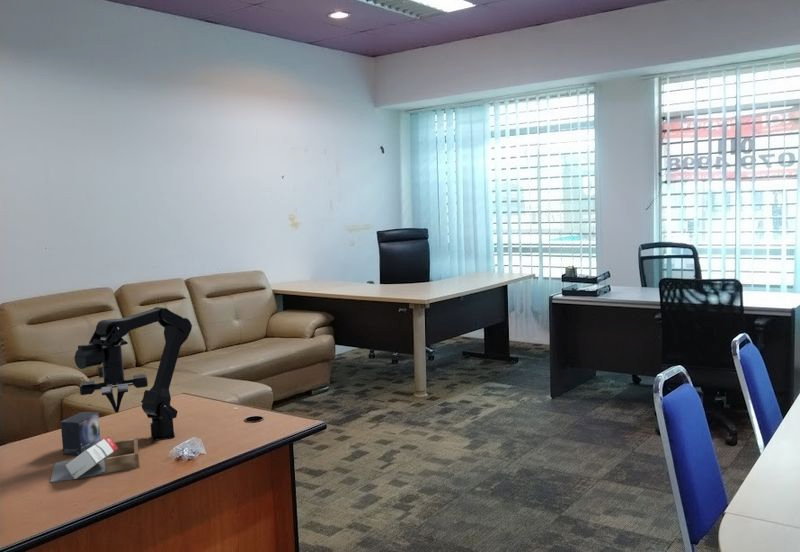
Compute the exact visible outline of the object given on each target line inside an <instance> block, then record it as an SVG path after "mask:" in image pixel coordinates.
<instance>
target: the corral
mask: <svg viewBox="0 0 800 552" xmlns="http://www.w3.org/2000/svg"><path fill="white" fill-rule="evenodd" d="M114 443H115V444H116V445H117V447H118V449H117V450H116V451H115V452H113V453H112V454H110V455H109V456H108V457H106V458H104V462H105V473H106V474H108V473H114V472H121V471H125V470H132V469H137V468H140V456H139V443H138V437H136V438H130V439H129V438H128V439H124V440H116V441H114Z"/></svg>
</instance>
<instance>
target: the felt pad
mask: <svg viewBox="0 0 800 552" xmlns="http://www.w3.org/2000/svg"><path fill="white" fill-rule="evenodd" d="M72 460H73V459H70V460H63V461H58V462H54V466H53V469H52V472H51V478H50V481H49V483H50V484H51V483H52V484H54V483H58V482H64V481H70V480H76V479H82V478H87V477H94V476H99V475H105V474H107V473H105V462H104V460H102V461H101V462H100V463H98V464H97V465H95V466H94V467H92V468H91V469H90V470H88V471H87V472H85V473H84V474H82V475H81V476H79V477H78V478H76V479H74V478H73V476H72V475H71V474H70V472H69V471H68V470H67V468H66V466H65V465H66V464H68V463H69V462H70V461H72Z"/></svg>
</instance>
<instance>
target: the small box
mask: <svg viewBox="0 0 800 552" xmlns="http://www.w3.org/2000/svg"><path fill="white" fill-rule="evenodd" d="M60 429H61V441H62V444H61V445H62V455H73V456H79V455H80V454H81V453H83V452H84V451H85V450H87V449H89V448H90V447H92V446H93V445H95V444H97V443H98V442H100V441H101V429H100V415H99V412H96V411H95V412H93V411H80V412H79V413H76V414H74V415H71V416H70V417H67V418H65V419H63V420H61V421H60Z"/></svg>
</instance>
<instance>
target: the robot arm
mask: <svg viewBox="0 0 800 552" xmlns="http://www.w3.org/2000/svg"><path fill="white" fill-rule="evenodd" d="M153 323H158V324H159V325H160V326H161V327H163V328H164V329H163V337H164V341H165V342H164V343H165V344H164V347H163V351H162V354H161V357H160V362H159V365H158V369H157V372H156V376H155V380H154V382H153V386H151V388H150V389H149V390H148V389H145V390H144V392H143V396H142V398H141V399H142V400H141V401H140V403H141V409H142V411H143V412H144V414H146V416H147V418H148V419H151V422H150V423H149V424H150V436H151V438H153V439H152V440H153V441H160V440H165V439H166V440H167V439H172V438H173V439H174V438H175V436H176V434H175V430H174V419H176V418H177V416H178V410H177V409H175V407H173V406H172V405H171V403H172V402H171V400H172V399H171V393H170V387H171V383H172V380H173V377H174V372H175V368H176V364H177V361H178V359H179V354H180V351H181V348H182V346H183V344H184V343H185V342H186V341H187V340H188V338H189V336H190V335H191V331H192V328H193V325H192V322H191V321H190V319H189V318H186V317H182V316H181V315H178V314H176V313H175V312H173V311H171V310H170V309H168V308H167V307H162V306H155V307H154V308H152V309H148V310H145V311H142V312H139V313H136V314H133V315H132V314H131V315H129V316H127V317H126V316H125V317H120V318H108V319H101V320H99V321H98V322H97V324H96V325H95V326H96V327H95V330H94V332H93V334H92V336H91V337H90V340H89V342H88V344H79V345H77V350H76V351H75V353H74V354H75V355H74V357H73V358H74V363H75V365H76V366H77V368H78V369H80V370H83V369H89V368H92V367H96V366H101V367H97V369H98V378H99V379H103V382H98V383H97V382H96V381H95V380H89V381H81V383H80V386H79V392H80V394H79V395H80V396H87V395H93V393H94V392H95V391H97V390H98V391H99V390H100V391H101V396H106V398H107V400H108V401H109V403H110V404H111V406H112V408H113V411H114V413H117V414H118V413H119V411H120V406H121V403H122V400H123V397H124V395H125V393H128V392H129V386H134V387H135V388H136V389H140V388H147V387H148V386H149V385H148V383H149V381H148V376H147V375H146V374H144V373H143V374H137V375H133V376H132V378H130V379H129V378H127V379H125V370H124V363H123V362H124V361H123V350H122V346H125V345H128V344H129V343H128V341H126V340H125V339H124V338H123V337H125V336H127V335H128V334H129V332H131V331H134V330H136V329H139V328H142V327H145V326H148V325H151V324H153ZM113 388H117V389H116V390H117V391H116V392H117V393H116V399H115V395H114V391H113V390H114V389H113Z"/></svg>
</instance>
